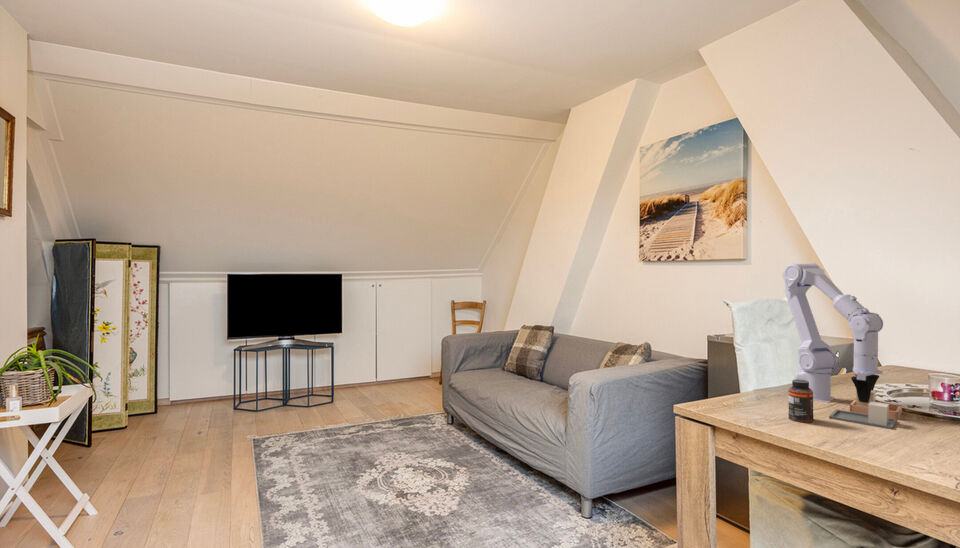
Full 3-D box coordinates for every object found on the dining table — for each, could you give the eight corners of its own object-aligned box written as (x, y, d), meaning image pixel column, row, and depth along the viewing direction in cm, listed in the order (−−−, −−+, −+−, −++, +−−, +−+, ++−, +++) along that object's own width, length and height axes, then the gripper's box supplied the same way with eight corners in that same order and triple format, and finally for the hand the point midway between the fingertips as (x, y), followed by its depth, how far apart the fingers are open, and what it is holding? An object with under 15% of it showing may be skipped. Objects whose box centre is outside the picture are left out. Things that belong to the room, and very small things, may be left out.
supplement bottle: (810, 418, 147) (810, 379, 147) (816, 425, 141) (816, 384, 141) (786, 417, 149) (786, 377, 149) (791, 423, 143) (791, 382, 143)
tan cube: (856, 407, 153) (856, 391, 152) (858, 405, 155) (859, 388, 155) (873, 410, 150) (873, 393, 150) (875, 407, 153) (875, 390, 152)
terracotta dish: (849, 413, 152) (849, 404, 152) (855, 406, 158) (855, 398, 158) (897, 421, 144) (897, 412, 144) (901, 414, 150) (901, 405, 150)
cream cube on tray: (868, 422, 142) (868, 404, 142) (870, 419, 145) (870, 401, 144) (886, 425, 139) (886, 407, 139) (888, 422, 142) (888, 404, 142)
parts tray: (829, 419, 146) (829, 416, 146) (835, 412, 152) (836, 409, 152) (892, 430, 136) (892, 427, 136) (896, 422, 143) (896, 419, 142)
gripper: (878, 359, 144) (878, 408, 145) (886, 352, 155) (885, 398, 155) (848, 356, 149) (847, 403, 150) (857, 350, 160) (856, 393, 160)
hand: (865, 400), depth 153 cm, fingers closed on tan cube, 4 cm apart
